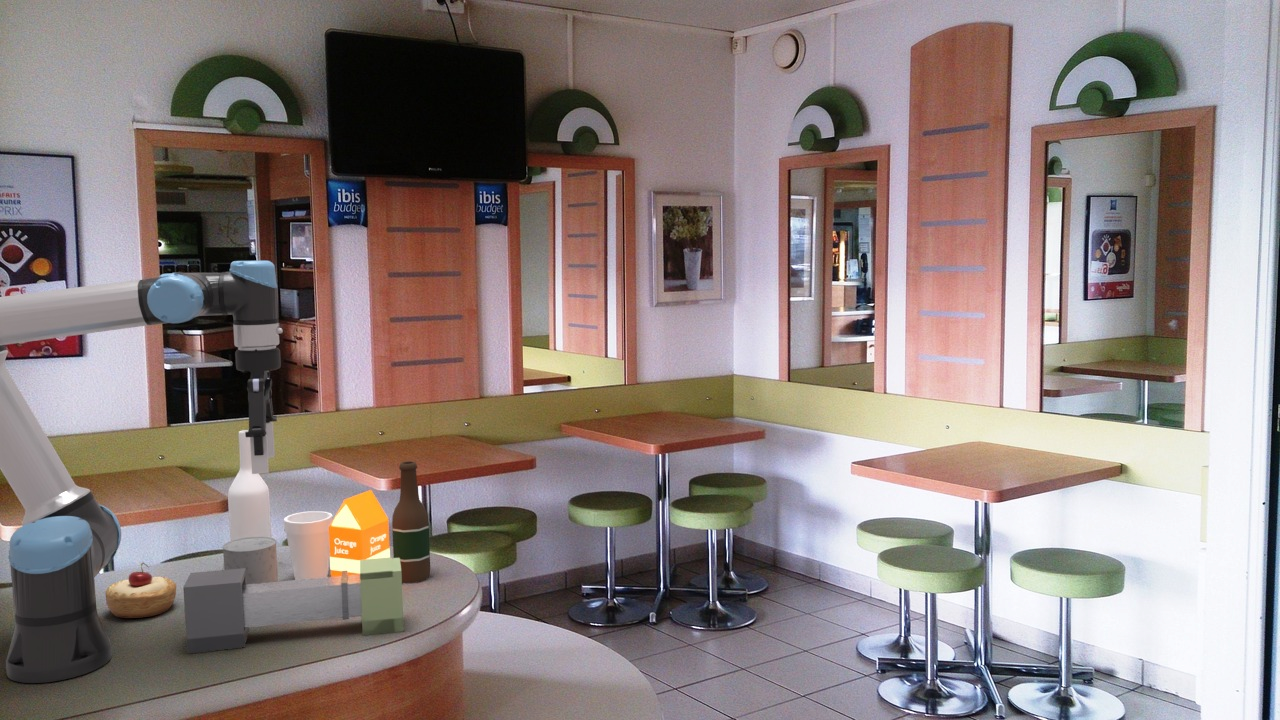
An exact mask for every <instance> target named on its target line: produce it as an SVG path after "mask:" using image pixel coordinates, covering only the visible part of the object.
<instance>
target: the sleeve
mask: <svg viewBox="0 0 1280 720" xmlns="http://www.w3.org/2000/svg"><path fill="white" fill-rule="evenodd" d="M242 585H246V568H242V569H230V570H224V569H219V570H209V571H197V572H196V571H195V572H190V573H189V575H188V577H187V579H186V581H185V582H184V585H183V588H182V589H183V590H182V591H183V604H184V606H183V607H184V619H185V623H184V624H185V637H186V651H187V653H186V654H188V655H189V654H197V653H198V654H199V653H208V651H209V652H215V651H214V650H218V651H225V650H224V649H228V650H233V649H232V648H238V649H243V648H242V647H244V646H246V644H247V643H246V642H247V640H246V639H248V637H247V635H248V636H249V633H248V632H250V627H246V628H244V620H243V602H242ZM245 643H246V644H245ZM244 648H245V647H244ZM206 651H207V652H206Z"/></svg>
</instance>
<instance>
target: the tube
mask: <svg viewBox="0 0 1280 720" xmlns="http://www.w3.org/2000/svg"><path fill="white" fill-rule="evenodd" d="M242 602H243V620H244V628H246V627H249V628H255V627H263V626H265V627H266V626H276V625H286V624H294V623H295V624H296V623H304V622H305V623H307V622H313V621H314V622H315V621H325V620H334V619H342V621H345V620H350V618H355V617H362V606H361V583H360V574H358V575H348V571H342V576H336V577H331V576H327V577H324V578H313V579H302V580H295V579H293V580H282V581H281V580H280V581H278V582H269V583H258V584H246V585H242Z"/></svg>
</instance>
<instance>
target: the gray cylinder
mask: <svg viewBox="0 0 1280 720" xmlns="http://www.w3.org/2000/svg"><path fill="white" fill-rule="evenodd" d="M221 547H222V553H223V554H222V555H223V570H230V569H242V568H246V584H258V583H269V582H279V578H278V577H279V576H278V559H277V557H278V556H277V554H278V553H277V540H276V539H275V538H273V537H272V538H270V537H247V538H241V539H236V540H233V541H230V540H229V541H227V542H226V543H223V545H222V546H221Z"/></svg>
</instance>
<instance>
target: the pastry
mask: <svg viewBox="0 0 1280 720" xmlns="http://www.w3.org/2000/svg"><path fill="white" fill-rule="evenodd" d="M143 565H144V566H146V567H147V569H149V568H150V567H149V566H148V564H146V563H145V562H141V563H140V568H141V571H133V572H131V573H130V574H129V575H128V578H127V579H121V580H119V581H118V582H114V583H112V584H111V585H108V587H107V588H106V590H105V592H104V593H105V601H106V605H107V607H108V609H109V611H110V613H112V615H114V616H115V617H117V618H121V619H141V618H148V617H154V616H157V615H160V614H164V613H165V612H167V611H168V610H169V609H170V608H171V607H172V605H173V604H174V602H175V599H176V595H177V584H176V582H174V580H172V579H171V578H167V577H166V576H163V577H162V576H154V577H153V576H152V574H151V573H150V572H147V571H146V572H145V571H144V570H143Z"/></svg>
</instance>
